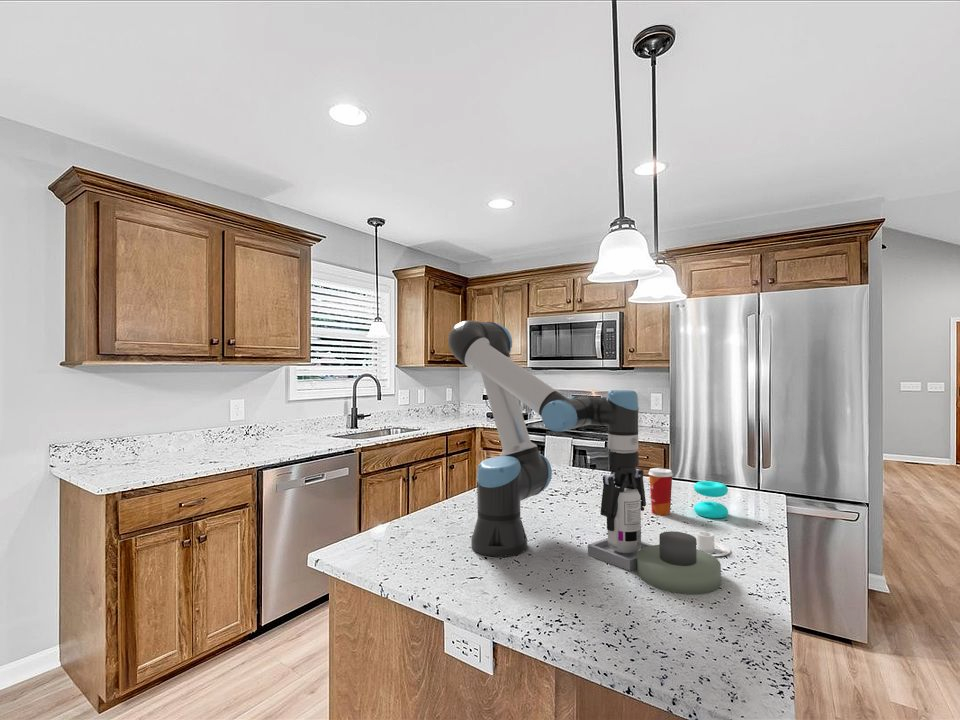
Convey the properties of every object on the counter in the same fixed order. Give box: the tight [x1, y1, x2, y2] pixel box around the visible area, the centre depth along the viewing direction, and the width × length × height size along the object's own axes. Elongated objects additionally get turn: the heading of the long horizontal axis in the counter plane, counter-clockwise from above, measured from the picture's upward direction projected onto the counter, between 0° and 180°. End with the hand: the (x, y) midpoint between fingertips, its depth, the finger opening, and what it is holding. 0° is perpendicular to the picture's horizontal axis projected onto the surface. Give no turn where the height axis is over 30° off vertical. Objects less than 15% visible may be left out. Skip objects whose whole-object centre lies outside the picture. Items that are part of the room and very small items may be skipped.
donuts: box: [693, 480, 729, 519], centre depth 161 cm, size 10×10×10 cm
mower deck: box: [587, 530, 722, 595], centre depth 121 cm, size 18×30×9 cm, turn 37°
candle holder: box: [696, 530, 731, 557], centre depth 133 cm, size 12×12×4 cm
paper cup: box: [647, 467, 674, 516], centre depth 163 cm, size 8×8×14 cm
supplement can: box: [608, 485, 642, 553], centre depth 128 cm, size 8×8×15 cm
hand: (624, 538), depth 128 cm, fingers closed on supplement can, 8 cm apart
